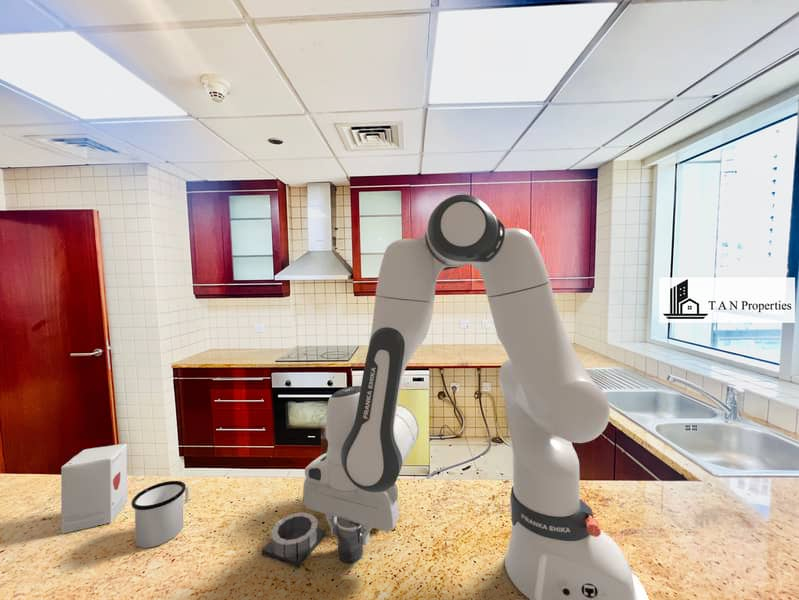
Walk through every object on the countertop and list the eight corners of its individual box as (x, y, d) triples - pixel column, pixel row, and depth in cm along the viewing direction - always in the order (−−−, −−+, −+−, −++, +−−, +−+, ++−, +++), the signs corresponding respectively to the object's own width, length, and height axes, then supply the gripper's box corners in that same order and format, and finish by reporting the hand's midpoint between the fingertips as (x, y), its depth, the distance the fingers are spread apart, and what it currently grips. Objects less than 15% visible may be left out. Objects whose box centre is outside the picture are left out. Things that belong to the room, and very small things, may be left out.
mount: (326, 534, 68) (325, 517, 68) (298, 568, 59) (297, 548, 59) (292, 524, 71) (292, 507, 71) (261, 554, 63) (261, 535, 63)
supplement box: (112, 523, 72) (110, 458, 72) (60, 535, 69) (58, 467, 69) (129, 500, 80) (128, 442, 80) (83, 509, 77) (82, 448, 77)
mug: (158, 554, 63) (157, 509, 63) (119, 548, 65) (118, 504, 65) (205, 513, 75) (204, 476, 75) (171, 509, 77) (170, 472, 77)
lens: (368, 547, 64) (367, 507, 64) (355, 568, 59) (354, 524, 59) (346, 540, 66) (345, 501, 66) (331, 559, 61) (331, 517, 61)
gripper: (403, 470, 62) (404, 540, 62) (317, 453, 69) (317, 515, 69) (390, 489, 56) (391, 566, 56) (297, 467, 63) (298, 535, 64)
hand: (350, 538), depth 63 cm, fingers closed on lens, 5 cm apart
